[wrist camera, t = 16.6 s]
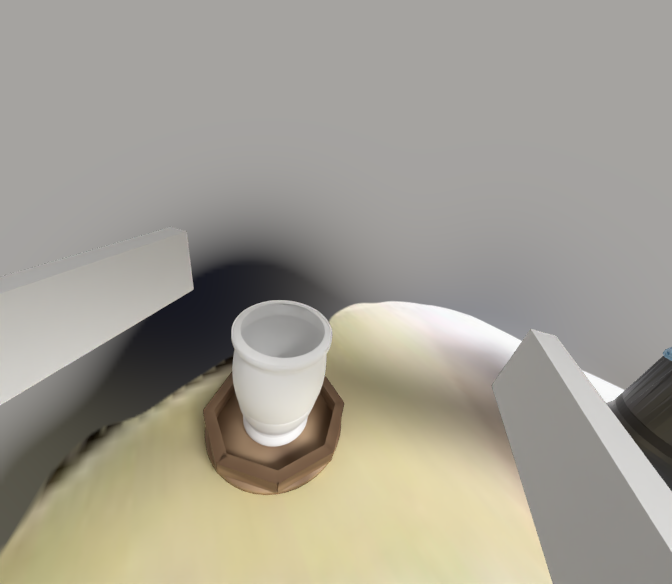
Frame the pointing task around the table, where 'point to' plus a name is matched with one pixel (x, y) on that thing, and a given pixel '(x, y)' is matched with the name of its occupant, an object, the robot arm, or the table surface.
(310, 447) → the tray
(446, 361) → the table surface
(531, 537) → the table surface
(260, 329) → the jar
